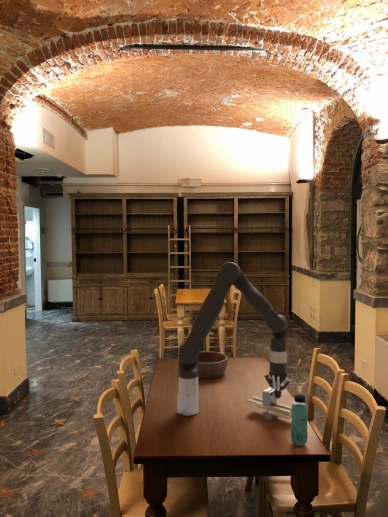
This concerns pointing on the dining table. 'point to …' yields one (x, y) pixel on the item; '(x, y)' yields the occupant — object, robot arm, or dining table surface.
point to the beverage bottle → (299, 421)
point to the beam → (270, 409)
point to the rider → (268, 397)
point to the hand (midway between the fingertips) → (277, 397)
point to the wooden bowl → (211, 364)
